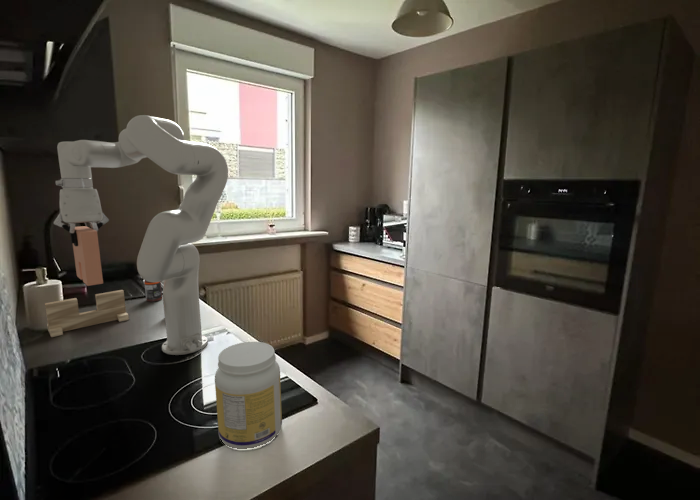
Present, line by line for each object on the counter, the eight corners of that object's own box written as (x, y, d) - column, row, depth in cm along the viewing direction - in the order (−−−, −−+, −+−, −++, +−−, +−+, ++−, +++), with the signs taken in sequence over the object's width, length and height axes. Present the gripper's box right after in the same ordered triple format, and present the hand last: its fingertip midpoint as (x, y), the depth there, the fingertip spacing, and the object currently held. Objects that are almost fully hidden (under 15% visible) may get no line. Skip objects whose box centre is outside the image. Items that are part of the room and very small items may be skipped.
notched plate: (103, 283, 115) (97, 231, 112) (87, 285, 113) (80, 232, 110) (91, 273, 126) (85, 226, 124) (76, 276, 124) (70, 227, 121)
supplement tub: (237, 410, 82) (232, 337, 79) (291, 417, 80) (288, 341, 77) (205, 449, 70) (199, 365, 67) (268, 458, 68) (264, 371, 65)
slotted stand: (129, 319, 135) (126, 292, 133) (51, 337, 120) (46, 307, 118) (122, 314, 141) (119, 287, 139) (47, 330, 126) (43, 301, 124)
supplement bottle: (154, 297, 161) (151, 271, 159) (165, 298, 159) (163, 272, 157) (142, 301, 156) (140, 274, 153) (154, 302, 154) (151, 275, 152)
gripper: (44, 185, 106) (53, 249, 109) (112, 184, 117) (119, 243, 121) (40, 184, 111) (49, 246, 114) (106, 184, 122) (113, 240, 126)
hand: (85, 244), depth 117 cm, fingers closed on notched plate, 4 cm apart
